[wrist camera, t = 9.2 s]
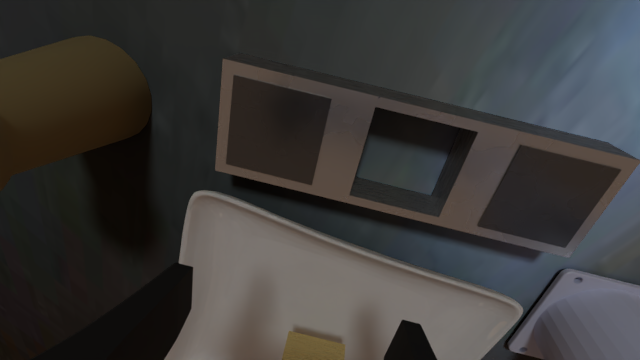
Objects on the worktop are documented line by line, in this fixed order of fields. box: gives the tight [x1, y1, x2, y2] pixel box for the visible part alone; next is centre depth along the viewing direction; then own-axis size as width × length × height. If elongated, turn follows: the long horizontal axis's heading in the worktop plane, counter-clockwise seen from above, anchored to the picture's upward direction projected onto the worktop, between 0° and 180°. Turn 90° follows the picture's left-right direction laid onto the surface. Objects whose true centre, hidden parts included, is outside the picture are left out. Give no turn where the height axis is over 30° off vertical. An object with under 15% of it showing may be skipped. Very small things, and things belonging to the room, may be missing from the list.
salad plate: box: [164, 190, 523, 360], centre depth 26 cm, size 21×21×3 cm
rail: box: [215, 53, 640, 258], centre depth 18 cm, size 20×6×2 cm, turn 78°
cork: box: [0, 35, 152, 191], centre depth 15 cm, size 6×6×11 cm
